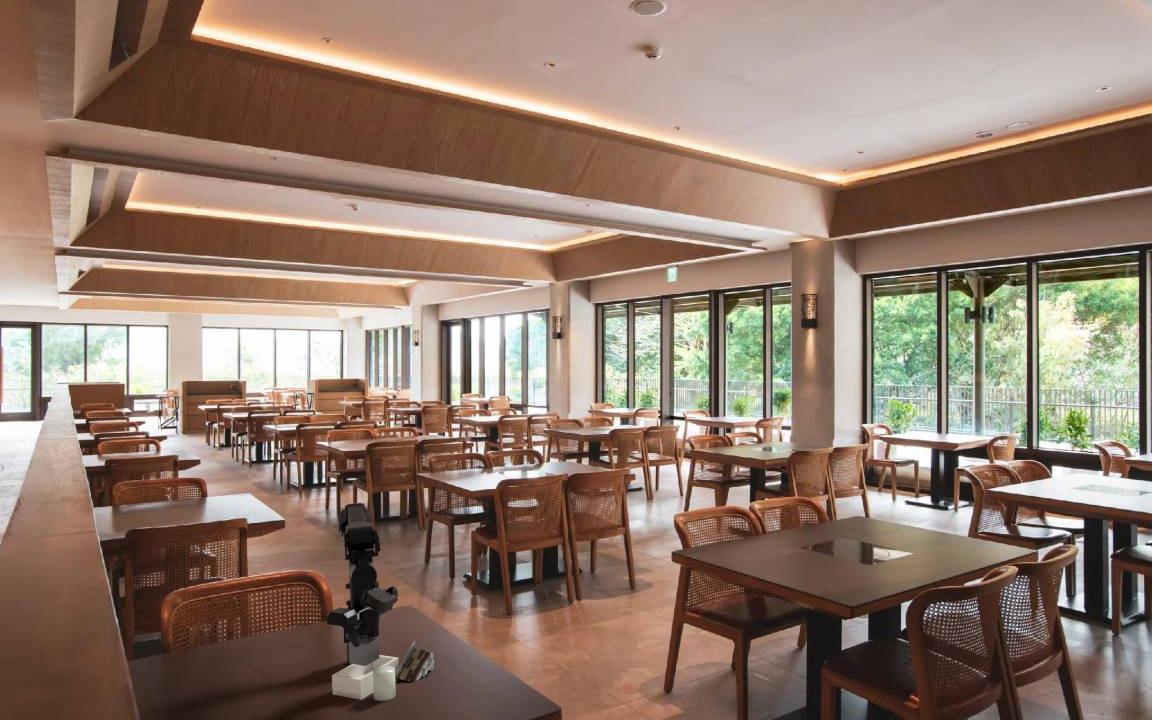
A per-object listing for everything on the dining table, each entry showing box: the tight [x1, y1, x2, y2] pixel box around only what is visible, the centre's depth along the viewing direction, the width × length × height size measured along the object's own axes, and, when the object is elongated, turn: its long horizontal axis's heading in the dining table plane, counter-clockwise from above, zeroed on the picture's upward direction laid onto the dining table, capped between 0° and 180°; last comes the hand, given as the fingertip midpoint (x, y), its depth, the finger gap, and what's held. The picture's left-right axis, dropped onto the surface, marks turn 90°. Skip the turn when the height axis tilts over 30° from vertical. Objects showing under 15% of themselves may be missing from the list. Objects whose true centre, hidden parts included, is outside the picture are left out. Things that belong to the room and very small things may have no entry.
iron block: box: [349, 635, 380, 666], centre depth 180 cm, size 5×5×5 cm
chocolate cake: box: [395, 640, 435, 683], centre depth 186 cm, size 10×7×12 cm
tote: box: [331, 654, 400, 700], centre depth 180 cm, size 8×14×4 cm, turn 156°
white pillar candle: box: [373, 666, 397, 702], centre depth 174 cm, size 5×5×6 cm
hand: (363, 642), depth 180 cm, fingers closed on iron block, 5 cm apart
